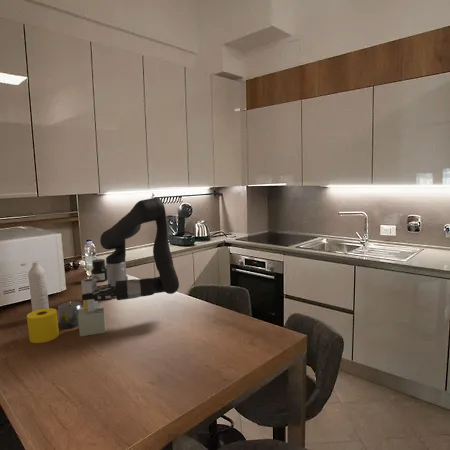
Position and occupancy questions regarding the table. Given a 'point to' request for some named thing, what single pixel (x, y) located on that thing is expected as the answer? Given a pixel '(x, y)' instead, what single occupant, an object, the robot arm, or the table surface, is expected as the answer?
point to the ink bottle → (99, 270)
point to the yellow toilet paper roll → (42, 325)
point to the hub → (69, 314)
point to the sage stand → (91, 322)
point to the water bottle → (37, 286)
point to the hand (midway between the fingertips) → (82, 295)
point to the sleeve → (87, 288)
